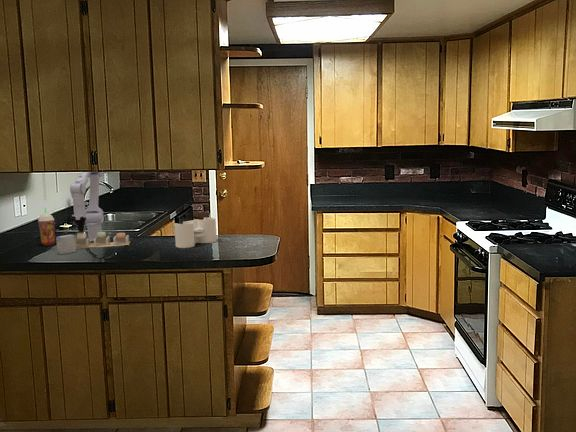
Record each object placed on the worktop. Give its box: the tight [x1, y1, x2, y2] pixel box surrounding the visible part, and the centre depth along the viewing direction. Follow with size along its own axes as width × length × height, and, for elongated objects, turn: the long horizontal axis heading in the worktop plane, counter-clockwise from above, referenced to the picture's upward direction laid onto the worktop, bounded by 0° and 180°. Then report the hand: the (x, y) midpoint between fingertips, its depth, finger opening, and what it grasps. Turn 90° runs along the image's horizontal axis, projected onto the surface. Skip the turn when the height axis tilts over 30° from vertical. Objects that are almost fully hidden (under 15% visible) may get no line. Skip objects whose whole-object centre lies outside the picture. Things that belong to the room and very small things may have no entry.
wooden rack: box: [75, 234, 131, 250], centre depth 325 cm, size 12×28×4 cm, turn 100°
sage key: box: [97, 231, 107, 239], centre depth 325 cm, size 4×4×4 cm
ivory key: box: [76, 232, 87, 240], centre depth 323 cm, size 4×4×4 cm
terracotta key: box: [116, 232, 126, 238], centre depth 327 cm, size 4×4×4 cm
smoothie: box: [37, 207, 56, 246], centre depth 333 cm, size 8×8×20 cm
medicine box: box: [55, 234, 77, 256], centre depth 307 cm, size 8×4×9 cm, turn 141°
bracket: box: [173, 217, 217, 249], centre depth 319 cm, size 25×10×12 cm, turn 144°
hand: (81, 231), depth 323 cm, fingers closed
